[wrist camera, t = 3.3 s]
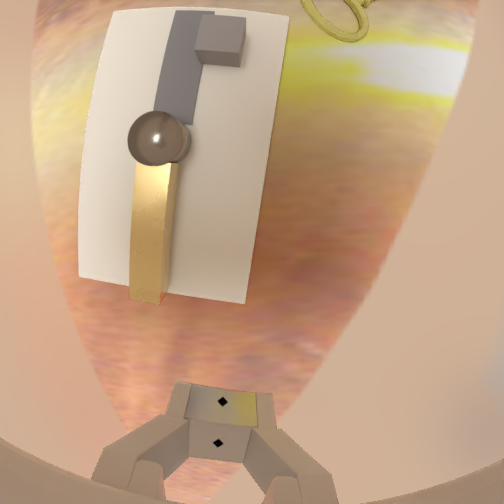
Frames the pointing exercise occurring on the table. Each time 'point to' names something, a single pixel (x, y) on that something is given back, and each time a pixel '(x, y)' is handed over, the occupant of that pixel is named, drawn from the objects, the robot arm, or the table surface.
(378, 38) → the table surface
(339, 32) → the key
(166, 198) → the swing arm
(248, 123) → the lock plate
